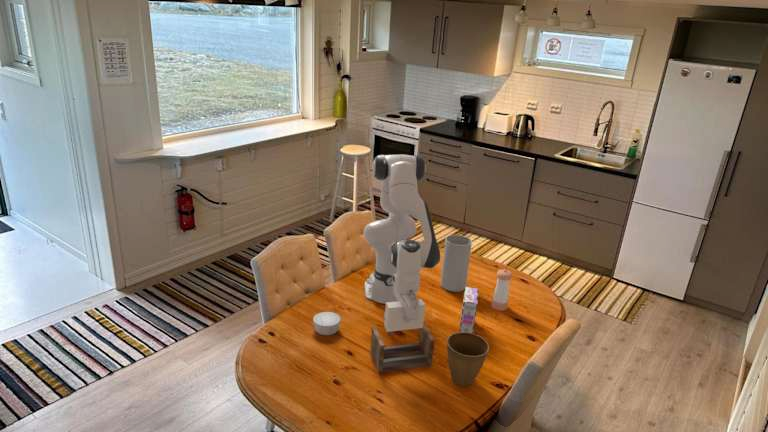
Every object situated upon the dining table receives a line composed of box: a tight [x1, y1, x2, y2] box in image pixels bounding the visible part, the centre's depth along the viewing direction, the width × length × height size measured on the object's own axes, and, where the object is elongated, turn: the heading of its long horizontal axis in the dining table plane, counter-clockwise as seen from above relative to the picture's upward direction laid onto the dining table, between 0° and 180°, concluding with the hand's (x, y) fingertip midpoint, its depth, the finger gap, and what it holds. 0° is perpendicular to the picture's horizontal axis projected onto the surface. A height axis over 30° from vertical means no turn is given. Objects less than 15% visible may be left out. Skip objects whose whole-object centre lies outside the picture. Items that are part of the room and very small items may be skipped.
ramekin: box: [312, 311, 342, 336], centre depth 221 cm, size 11×11×5 cm
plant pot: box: [446, 332, 490, 387], centre depth 194 cm, size 15×15×16 cm
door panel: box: [383, 298, 426, 333], centre depth 198 cm, size 4×14×10 cm, turn 106°
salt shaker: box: [491, 268, 513, 311], centre depth 245 cm, size 7×7×19 cm
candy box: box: [458, 286, 479, 334], centre depth 227 cm, size 14×6×16 cm, turn 168°
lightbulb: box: [383, 312, 394, 335], centre depth 220 cm, size 6×6×11 cm
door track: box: [369, 322, 436, 374], centre depth 203 cm, size 12×21×12 cm, turn 106°
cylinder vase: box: [440, 234, 473, 293], centre depth 260 cm, size 12×12×25 cm
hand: (404, 317), depth 199 cm, fingers closed on door panel, 4 cm apart
